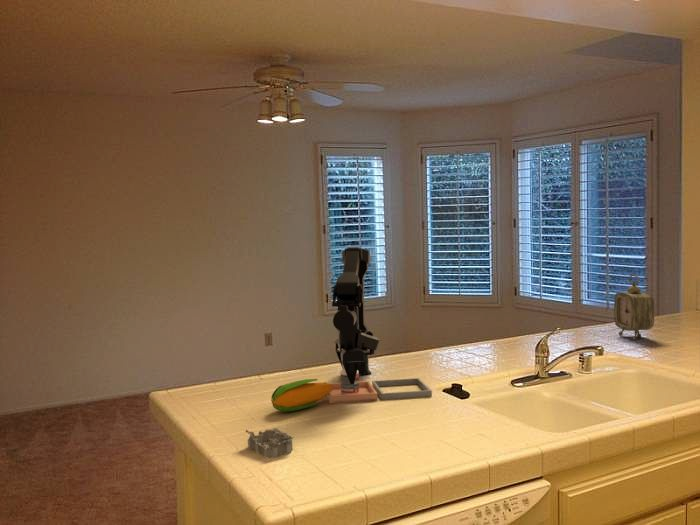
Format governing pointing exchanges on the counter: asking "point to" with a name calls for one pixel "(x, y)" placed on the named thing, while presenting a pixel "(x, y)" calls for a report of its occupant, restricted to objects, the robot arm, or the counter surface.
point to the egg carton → (270, 442)
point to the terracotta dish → (364, 394)
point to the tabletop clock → (634, 310)
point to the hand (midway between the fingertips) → (349, 379)
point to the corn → (299, 395)
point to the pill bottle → (346, 386)
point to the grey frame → (396, 395)
